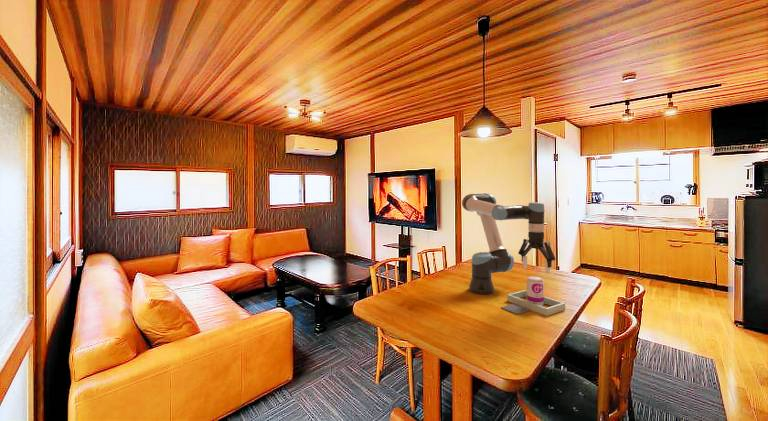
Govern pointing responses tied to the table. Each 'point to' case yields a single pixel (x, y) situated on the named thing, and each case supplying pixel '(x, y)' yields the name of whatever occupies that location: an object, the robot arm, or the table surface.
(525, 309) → the mat
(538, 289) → the supplement can
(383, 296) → the table surface
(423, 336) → the table surface
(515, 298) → the grey rectangular frame
